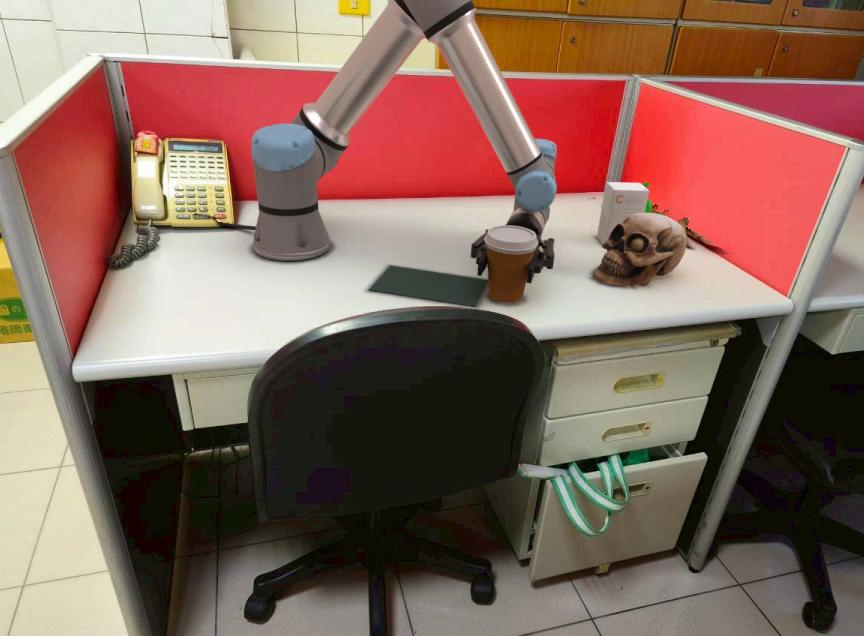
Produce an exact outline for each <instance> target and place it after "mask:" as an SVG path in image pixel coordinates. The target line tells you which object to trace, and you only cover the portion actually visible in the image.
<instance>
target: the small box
mask: <svg viewBox="0 0 864 636" xmlns="http://www.w3.org/2000/svg"><path fill="white" fill-rule="evenodd" d="M649 195H650V190H649V189H648V187H647V188H646V186H643V183H641V182H623V181H622V182H621V181H620V182H619V181H606V182H605V186H604V191H603V198H602V204H601V209H600V215H599V220H598V221H599V222H598V228H597V234H596V238H597V239H598V241H600V242H601V244H602V245H603V244H604V243H605V242H606V241H607V240H608V239H609V236H610V234H611V232H612V230H613V229H614V227H615V226H616V225H617V224H619V223H622V222H623V221H624V220H625V219H626V218H627V217H628V216H630V215H631V214H634V213H645V209H646V204H647V200H649Z"/></svg>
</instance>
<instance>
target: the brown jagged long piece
mask: <svg viewBox="0 0 864 636" xmlns="http://www.w3.org/2000/svg"><path fill="white" fill-rule="evenodd" d="M678 223H679V224H680V225H681V226H682V227H683V229H684V231H685V235H686V248H688V249H693V247H692V244H691V243H690V241H689V238H688V236H690V237H691V238H693V239H696V240H697V241H699V242H701V243H703V244H704V245H706V246H708V247H709V246H710V247H711V248H716V249H718V248H717V247H715V246H713V245H710V244H708V243H711V242H710V241H711V240H706V239H705V238H704V237H703V236H702V235H699V234H697V233H695V232H694V231H693V232H692V231H691V229H688V227H686V226H687V225H688V223H689V220H688V218H685V217H684V218H683V219H681V220H680V219H679V221H678ZM690 233H691V234H690ZM704 241H706V242H708V243H706V242H704Z"/></svg>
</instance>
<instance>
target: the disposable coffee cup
mask: <svg viewBox="0 0 864 636" xmlns="http://www.w3.org/2000/svg"><path fill="white" fill-rule="evenodd" d="M488 229H489V230H488V232H487V235H486V236H485V238H484V241H485V244H486V246H487V280H488V282H487V285H488V296H489V298H490V299H492V300H493V301H495V302H498V303H502V304H504V303H505V304H513V303H518V302H520V301H521V300H522V299H524V293H525V290H526V286H527V276H528V268H529V266H530V263H531V260H532V258H533V254H534V250H535V249H536V247H537V246H538V241H537V237H536V234H535V233H534V232H533V231H532V230H530V229H527V228H524V227H519V226H510V225H506V224H505V225H504V224H503V225H497V226H493V227H490V228H488Z"/></svg>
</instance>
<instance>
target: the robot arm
mask: <svg viewBox="0 0 864 636" xmlns="http://www.w3.org/2000/svg"><path fill="white" fill-rule="evenodd" d="M476 14H477V8H476V6H475V4H474V2H473V0H387V5H386V6H385V8H384V9H383V11H382V12H381V13H380V14H379V15H378V18H377V19H376V20H375V21H374V23H373V24H372V25H371V27H370V28H369V29H368V31H367V32H366V34H365V35H364V36H363V38H362V39H361V40H360V42H359V43H358V45H357V46H356V48H355V49H354V50H353V51H352V53H351V54H350V55H349V57H348V58H347V60H346V61H345V63H343V65H342V66H341V68H340V69H339V71H338V72H337V73H336V74H335V76H334V77H333V79H332V80H331V81H330V83H329V84H328V85H327V87H326V88H325V90H324V91H323V93H321V95H320V97H319V98H318V99H317V101H316V102H310V103H309V102H308V103H305V104H304V105H303V106H302V107H301V108H300V110H299V111H298V113H297V114H296V115H295V117H294V118H293V120H292V121H291V122H290V123H276V124H272V125H266V126H263V127H260V128H259V129H257V130H256V131H255V132H254V133H253V135H252V137H251V150H250V151H251V152H250V153H251V159H252V164H253V172H254V180H255V189H256V198H257V204H258V215H257V219H256V224H255V225H246V224H245V225H244V224H240V223H239V224H238V223H232V224H229V223H230V222H227V223H223V222H216V223H217V224H219V225H220V226H223V227H227V228H231V229H238V230H239V229H240V230H247V231H254V234H253V240H252V244H253V250H254V253H256V254H257V255H258V256H260V257H262V258H265V259H269V260H271V261H272V260H273V261H282V262H297V261H306V260H312V259H314V258H317V257H321V256H322V255H325V254H326V253H327V252H328V251H329V250H330V248H331V241H330V235H329V232H328V230H327V228H326V225H325V223H324V220H323V218H322V215H321V213H320V210H319V193H318V182H319V181H320V180H321V179H322V178H323V177H325V175H327V174H328V173H330V172H331V171H332V170H333V169H335V167H336V166H337V164H338V162H339V160H340V159H341V158H340V157H341V156H342V155H343V154H344V153H345V151H346V150H347V149H348V147H350V145H351V143H352V140H351V131H352V130H353V128H354V127H355V126H356V125H357V124H358V122H359V121H360V119H361V118H362V117H363V116H364V115H365V113H366V112H367V111H368V110H369V108H370V107H371V106H372V105H373V103H374V102H375V100H376V99H377V98H378V97H379V95H380V94H381V93H382V92H383V90H384V89H385V88H386V87H387V85H388V84H389V83H390V82H391V80H392V79H393V77H394V76H395V75H396V74H397V72H398V71H399V70H400V69H401V68H402V66H403V65H404V63H405V62H406V61H407V60H408V58H409V57H411V55H412V54H413V52H414V51H415V49H417V47H418V46H419V45H420V43H421V42H422V41H423V40H425V39H426V40H427V42H428V43H431V44H434V45H436V46H437V48H438V50H439V52H440V54H441V55H442V57H443V59H444V61H445V63H446V65H447V66H448V69H449V70H450V72H451V74H452V75H453V77H454V80H455V81H456V83H457V85H458V87H459V88H460V91H461V92H462V94H463V96H464V97H465V100H466V102H467V103H468V105H469V106H470V109H471V111H472V112H473V114H474V116H475V119H476V120H477V122H478V123H479V125H480V127H481V129H482V131H483V133H484V134H485V136H486V138H487V140H488V142H489V143H490V145H491V147H492V149H493V151H494V152H495V154H496V157H497V158H498V161H500V164H501V165H502V167H503V169H504V171H505V173H506V175H507V177H508V179H509V181H510V183H511V185H512V186H513V188H514V202H513V210H512V212H511V215H510V216H509V217H508V220H507V222H506V224H505V225H510V226H519V227H524V228H527V229H530V230H532V231H533V232H534V233H535V234H536V237H537V241H538V246H537V247H536V249H535V250H534V254H533V258H532V260H531V263H530V266H529V268H528V276H527V282H526V284H530V285H531V284H532V282H533V279H534V277H535V274H537V275H539V274H541V273H542V270H543V268H546V269H547V270H553V269H554V264H555V251H554V246H555V238H552V237H549V238H548V239H544V240H543V239H542V235H543V233H544V230H545V227H546V224H547V222H548V221H549V219H550V212H551V208H550V207H551V205H552V204H553V202H554V200H555V199H556V194H557V190H558V186H557V181H556V172H555V171H556V170H555V166H556V160H557V149H558V147H557V145H556V143H555V142H554V141H551V140H548V139H543V138H535V136H534V134H533V133H532V131H531V129H530V127H529V125H528V122H527V121H526V119H525V117H524V115H523V113H522V110H521V109H520V107H519V105H518V103H517V101H516V99H515V97H514V95H513V93H512V91H511V89H510V87H509V85H508V83H507V81H506V79H505V77H504V75H503V73H502V72H501V69H500V67H499V65H498V63H497V62H496V59H495V57H494V56H493V53H492V51H491V50H490V48H489V46H488V44H487V41H486V40H485V38H484V36H483V34H482V32H481V29H480V28H479V26H478V24H477V22H476V19H475V18H476ZM489 229H490V228H487V229H485V231H484V233H483V234H482V235H480V237H478V238H477V239H476V240H474V241H473V242H472V243H471V245H470V258H471V259H475V265H477V272H476V276H478V277H482V276H483V274H484V273H485V270H486V268H488V266H487V246H486V244H485V241H484V238H485V236H486V235H487V232H488V230H489ZM540 247H541V249H542V250H541V249H540Z"/></svg>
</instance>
